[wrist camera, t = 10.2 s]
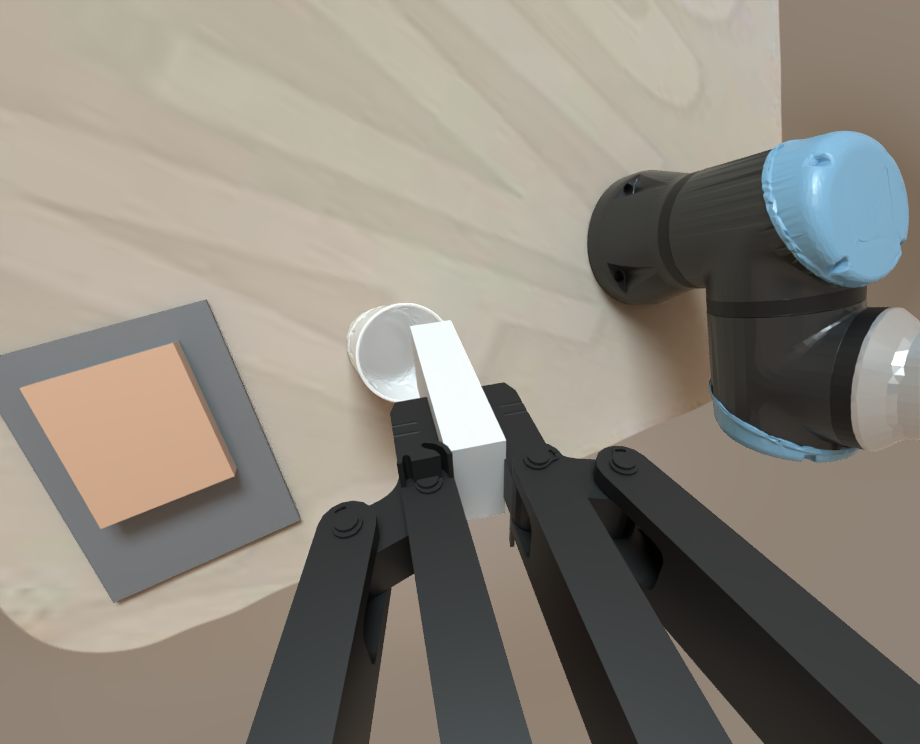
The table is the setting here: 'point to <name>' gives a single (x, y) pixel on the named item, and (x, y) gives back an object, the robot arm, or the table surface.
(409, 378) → the white cup
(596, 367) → the table surface
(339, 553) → the robot arm
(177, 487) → the tile
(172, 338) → the mat
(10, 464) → the table surface
